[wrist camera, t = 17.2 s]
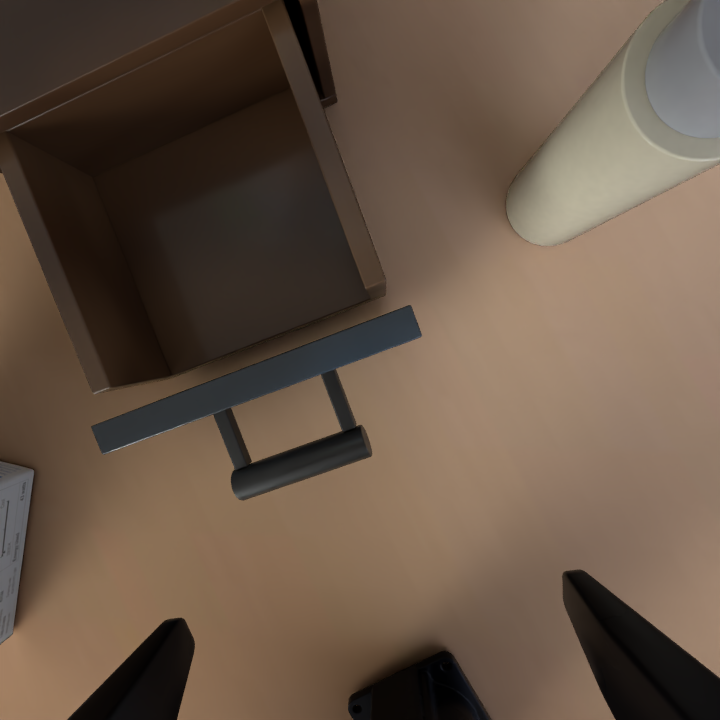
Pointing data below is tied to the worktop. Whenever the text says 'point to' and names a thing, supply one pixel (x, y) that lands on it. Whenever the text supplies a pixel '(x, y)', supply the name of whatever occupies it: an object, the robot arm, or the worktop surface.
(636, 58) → the grey-lidded cream jar
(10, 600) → the light bulb box
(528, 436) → the worktop surface
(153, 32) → the cabinet
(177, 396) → the drawer
